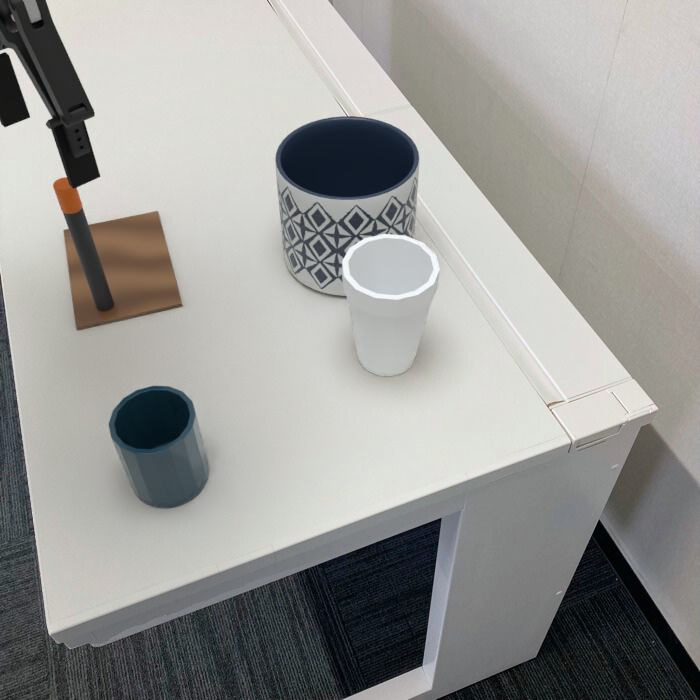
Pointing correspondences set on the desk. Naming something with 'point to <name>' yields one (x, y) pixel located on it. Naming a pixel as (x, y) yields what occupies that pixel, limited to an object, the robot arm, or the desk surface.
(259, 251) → the desk surface
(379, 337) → the foam cup
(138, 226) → the brown wooden board
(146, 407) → the pen cup
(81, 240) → the marker
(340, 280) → the planter
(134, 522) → the desk surface
